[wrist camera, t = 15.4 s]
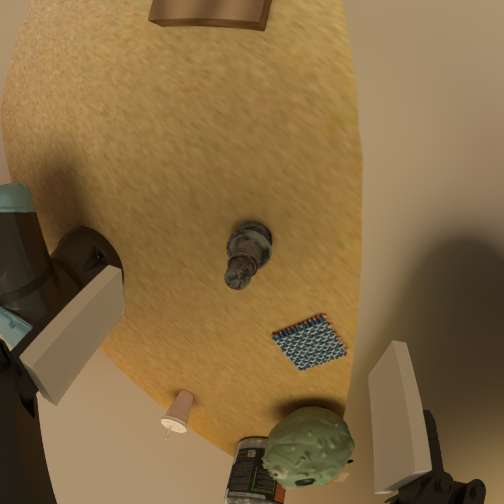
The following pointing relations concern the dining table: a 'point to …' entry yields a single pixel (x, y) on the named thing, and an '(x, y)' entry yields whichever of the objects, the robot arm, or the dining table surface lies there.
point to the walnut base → (211, 13)
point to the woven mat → (310, 342)
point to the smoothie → (178, 413)
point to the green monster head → (308, 448)
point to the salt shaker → (247, 253)
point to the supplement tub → (252, 477)
